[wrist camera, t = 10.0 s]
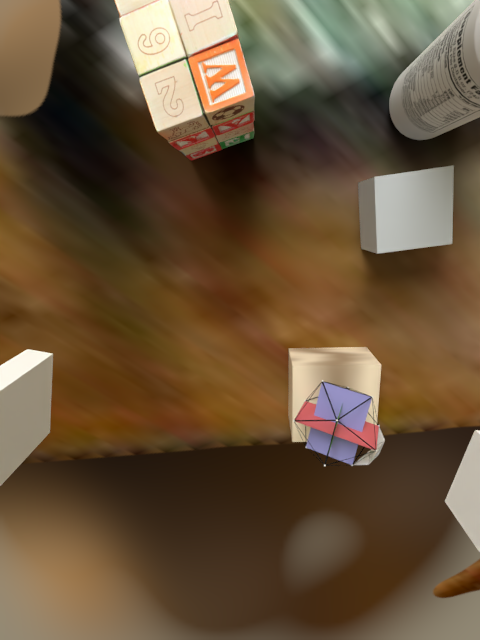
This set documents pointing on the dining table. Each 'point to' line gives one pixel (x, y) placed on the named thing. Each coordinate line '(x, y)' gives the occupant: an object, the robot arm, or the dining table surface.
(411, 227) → the grey block
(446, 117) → the energy drink can
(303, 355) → the beech block
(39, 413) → the robot arm
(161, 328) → the dining table surface
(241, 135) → the stack of blocks
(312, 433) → the geometric puzzle
